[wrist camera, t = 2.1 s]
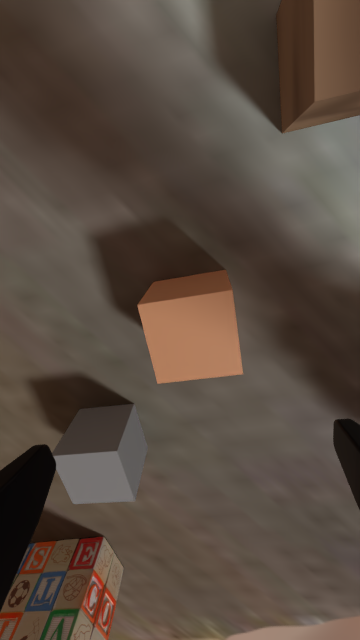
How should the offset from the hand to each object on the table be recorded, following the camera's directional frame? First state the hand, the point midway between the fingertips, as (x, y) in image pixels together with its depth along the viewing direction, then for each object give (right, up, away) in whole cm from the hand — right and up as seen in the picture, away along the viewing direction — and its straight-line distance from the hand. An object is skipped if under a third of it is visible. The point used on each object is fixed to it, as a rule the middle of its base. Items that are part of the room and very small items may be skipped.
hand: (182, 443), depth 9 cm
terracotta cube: (+1, +5, +11) cm, 12 cm away
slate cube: (-6, -6, +16) cm, 18 cm away
